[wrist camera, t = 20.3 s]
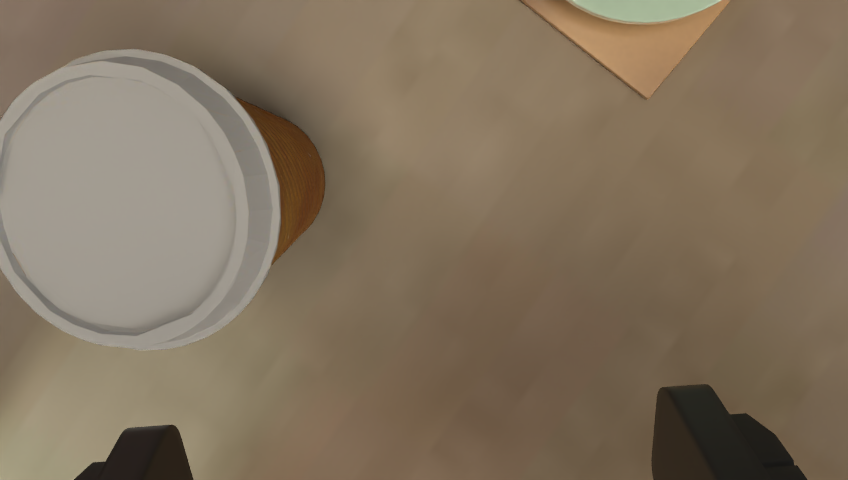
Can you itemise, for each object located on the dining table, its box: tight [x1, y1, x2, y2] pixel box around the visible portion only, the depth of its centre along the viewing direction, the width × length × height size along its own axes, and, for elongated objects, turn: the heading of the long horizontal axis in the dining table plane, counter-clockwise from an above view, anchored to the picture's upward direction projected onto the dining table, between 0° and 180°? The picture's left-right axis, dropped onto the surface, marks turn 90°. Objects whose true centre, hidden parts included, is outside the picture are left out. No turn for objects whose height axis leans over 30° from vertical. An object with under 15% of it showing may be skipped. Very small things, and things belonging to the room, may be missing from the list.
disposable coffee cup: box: [0, 49, 325, 350], centre depth 26 cm, size 10×10×12 cm
